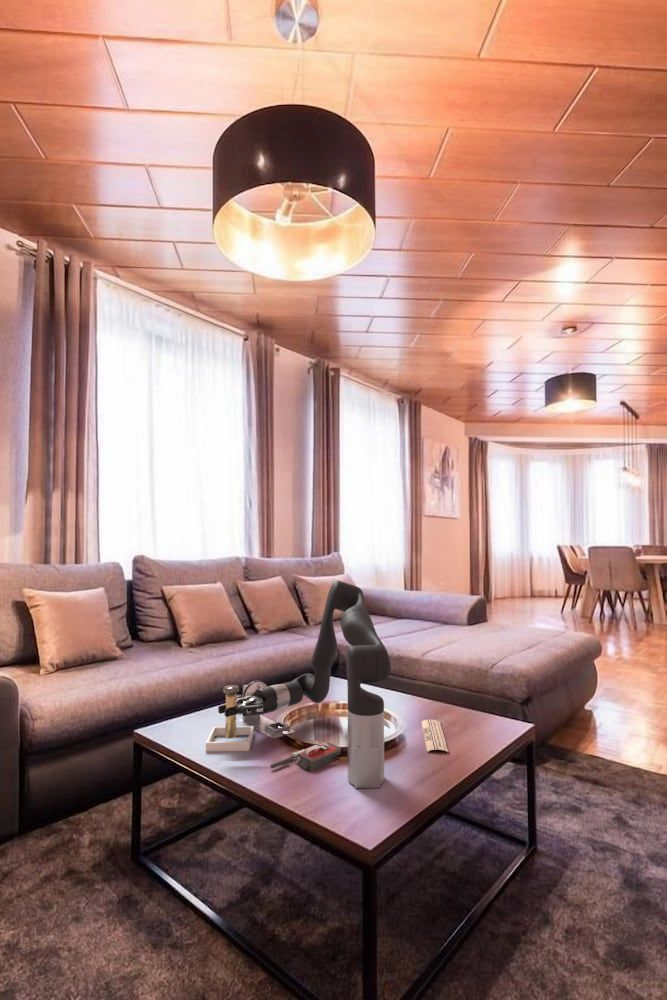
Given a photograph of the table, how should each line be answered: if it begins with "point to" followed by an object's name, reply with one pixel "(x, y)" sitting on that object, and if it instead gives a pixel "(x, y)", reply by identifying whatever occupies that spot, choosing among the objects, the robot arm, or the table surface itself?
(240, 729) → the parts tray
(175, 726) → the table surface
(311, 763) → the walkie-talkie
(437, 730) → the newspaper
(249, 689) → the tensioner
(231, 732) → the lock pin
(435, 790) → the table surface
